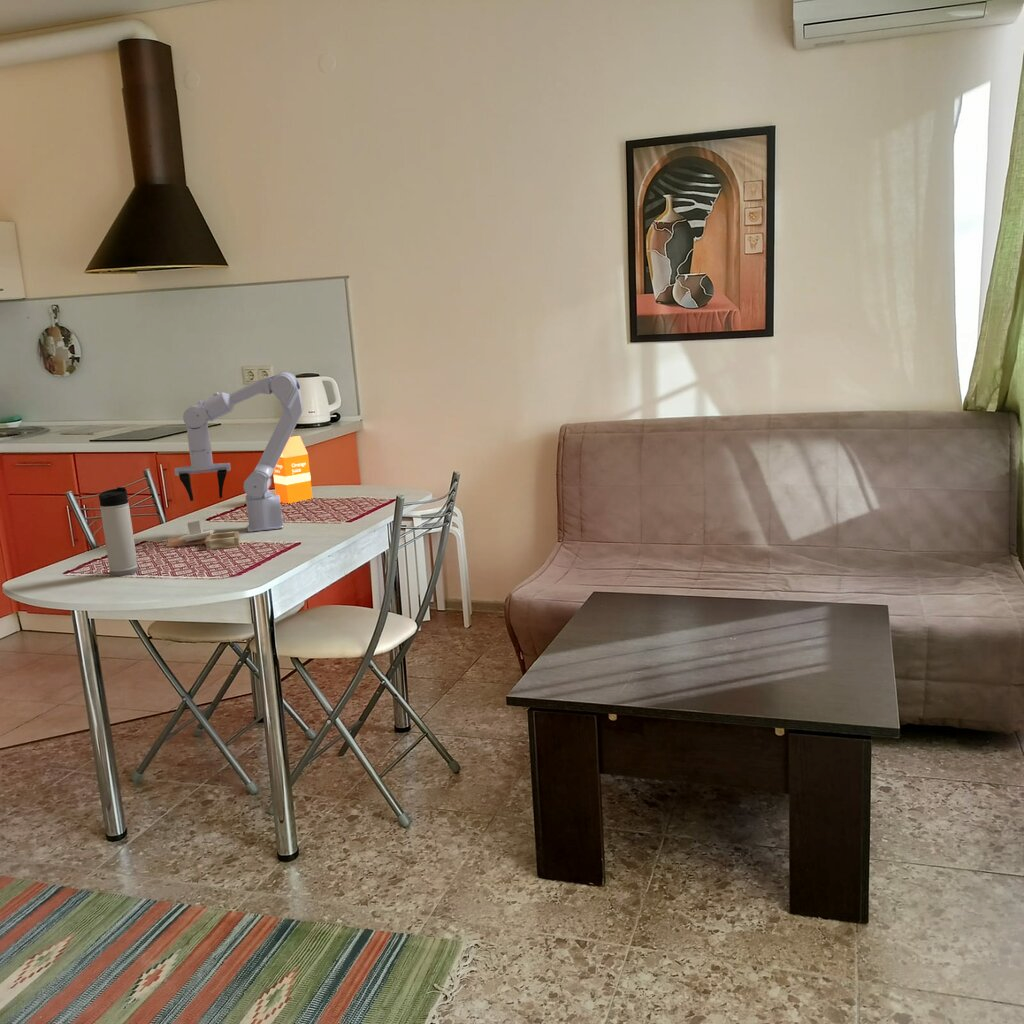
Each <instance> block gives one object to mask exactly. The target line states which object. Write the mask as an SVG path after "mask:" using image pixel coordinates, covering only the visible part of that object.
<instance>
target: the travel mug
mask: <svg viewBox="0 0 1024 1024" xmlns="http://www.w3.org/2000/svg"><path fill="white" fill-rule="evenodd" d="M128 497H129V496H128V492H127V489H126V487H123V486H121V487H119V486H118V487H116V488H113V489H112V488H111V489H108V490H105V491H104V490H103V491H102V492H100V493H99V494H98V500H99V506H100V507H99V508H100V516H101V521H102V528H103V529H102V530H103V534H104V541H105V548H106V554H107V555H106V556H107V562H108V567H109V569H108V570H109V574H110V576H112V575H113V577H123V576H128V575H132V574H133V575H134V574H135V573H137V572H138V571H139V565H138V557H137V552H136V551H137V550H136V545H135V538H134V532H133V531H134V530H133V523H132V518H131V517H132V515H131V510H130V504H129V499H128Z"/></svg>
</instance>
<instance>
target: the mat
mask: <svg viewBox="0 0 1024 1024" xmlns="http://www.w3.org/2000/svg"><path fill="white" fill-rule="evenodd" d="M211 534H213V533H211ZM181 536H182V535H176V536H169V538H168V541H167V543H166V546H165V547H166V548H174V547H176V548H177V547H182V546H193V545H202V544H206V538H203V539H198V540H193V541H187V542H186V541H185V539H184V540H179V538H180V537H181Z"/></svg>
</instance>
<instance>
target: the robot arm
mask: <svg viewBox="0 0 1024 1024" xmlns="http://www.w3.org/2000/svg"><path fill="white" fill-rule="evenodd" d="M301 389H302V388H301V385H300V382H299V380H298V379H297V377H296V375H295V374H293V373H292V372H291V371H288V370H287V371H280V372H279V373H277V374H272V375H269V376H266V377H262V378H260V379H258V380H255V381H252V382H251V383H250V384H248V385H245V386H243V387H241V388H240V389H237V390H235V391H234V392H232V393H230V394H229V393H226V392H224V391H221V392H220V393H219V392H218V391H217V392H215V393H213V394H212V395H213V396H211V397H209V398H206V399H205V400H198V401H197V402H196V404H194V405H192V406H191V405H190V406H189V407H188V408H187V409H185V411H184V412H183V415H182V419H183V422H184V424H185V425H186V432H187V434H186V435H187V442H188V449H189V457H190V465H187V466H180V467H179V466H178V467H175V468H174V476H175V477H176V476H178V477H179V481H180V482H181V483H182V485H183V486H184V488H185V490H186V492H187V494H188V497H189V500H190V502H193V501H194V492H193V487H192V481H191V475H193V474H195V475H196V474H203V473H215V472H216V475H217V483H218V496H219V499H222V498H223V492H224V491H223V489H224V484H225V480H226V477H227V473H228V472H230V471H231V469H232V468H231V463H230V462H224V463H223V462H221V463H214V460H213V453H212V445H211V438H210V437H211V435H210V431H209V424H208V422H209V421H210V422H213V421H214V420H217V419H219V418H221V417H223V416H225V415H227V414H230V413H232V412H233V411H234V408H235V405H237V404H240V403H241V402H244V401H247V400H248V399H251V398H253V397H255V396H257V395H260V394H264V395H271V394H273V395H274V396H275V397H276V398H277V399H278V400H279V403H280V405H281V406H282V409H283V412H282V414H281V416H280V418H279V419H278V422H277V424H276V427H275V428H274V430H273V431H272V434H271V437H270V438H269V441H268V443H267V445H266V447H265V449H264V450H263V453H262V454H261V457H260V459H259V460H258V463H257V464H256V466H255V468H254V469H253V471H252V472H251V473H250V475H248V476H247V478H246V479H245V480H244V481H243V491H244V493H245V494H246V495H245V502H246V512H247V513H246V514H247V520H248V524H247V532H249V533H250V532H258V531H259V532H260V531H269V530H276V529H277V530H278V529H283V528H284V514H283V513H282V504H281V502H280V495H276V494H275V495H274V494H273V492H272V491H271V490H270V487H271V485H272V476H273V472H274V469H275V467H276V465H277V462H278V460H279V458H280V456H281V454H282V452H283V450H284V448H285V446H286V444H287V442H288V440H289V438H290V437H292V434H293V432H294V430H295V429H296V426H297V424H298V422H299V419H300V418H301V416H302V414H303V411H304V407H303V406H304V405H303V398H302V392H301Z"/></svg>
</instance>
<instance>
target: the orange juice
mask: <svg viewBox="0 0 1024 1024" xmlns="http://www.w3.org/2000/svg"><path fill="white" fill-rule="evenodd" d="M272 476H273V483H274V492H275V495H280V503H283V504H287V503H288V504H289V503H290V504H294V503H293V502H295V503H298V501H300V502H303V501H302V500H305V501H308V500H307V499H310V500H312V499H311V498H313V491H312V489H313V488H312V477H311V471H310V460H309V453H308V451H307V449H306V447H305V444H304V443H303V440H302V437H301V435H298V436H297V435H295V436H290V438H289V440H288V442H287V444H286V446H285V448H284V450H283V452H282V454H281V456H280V458H279V460H278V462H277V465H276V467H275V469H274V472H273V474H272Z"/></svg>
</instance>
